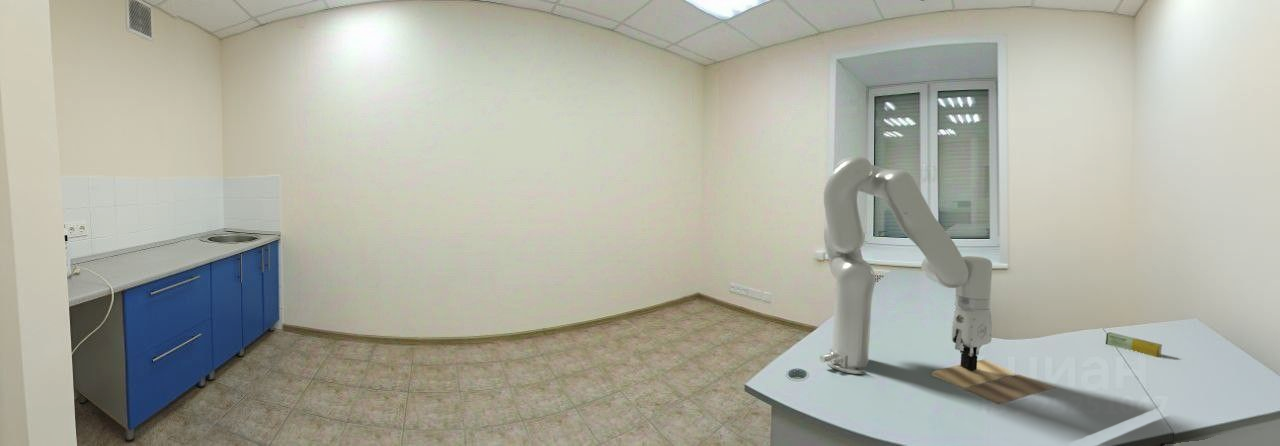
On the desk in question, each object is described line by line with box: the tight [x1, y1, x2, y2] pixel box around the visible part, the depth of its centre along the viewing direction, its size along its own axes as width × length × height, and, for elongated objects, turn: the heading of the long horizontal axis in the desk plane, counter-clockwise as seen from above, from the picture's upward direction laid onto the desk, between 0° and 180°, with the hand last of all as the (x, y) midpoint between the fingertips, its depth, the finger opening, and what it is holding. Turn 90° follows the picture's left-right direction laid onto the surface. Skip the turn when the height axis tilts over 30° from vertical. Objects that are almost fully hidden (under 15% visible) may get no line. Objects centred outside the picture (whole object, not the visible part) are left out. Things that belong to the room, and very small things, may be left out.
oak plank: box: [931, 358, 1016, 389], centre depth 120 cm, size 22×8×1 cm, turn 113°
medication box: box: [1105, 331, 1163, 358], centre depth 142 cm, size 12×3×4 cm, turn 24°
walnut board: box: [963, 373, 1055, 405], centre depth 113 cm, size 23×8×2 cm, turn 113°
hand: (968, 368), depth 122 cm, fingers closed
